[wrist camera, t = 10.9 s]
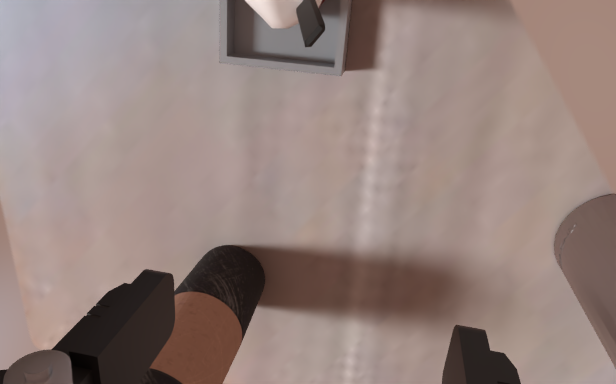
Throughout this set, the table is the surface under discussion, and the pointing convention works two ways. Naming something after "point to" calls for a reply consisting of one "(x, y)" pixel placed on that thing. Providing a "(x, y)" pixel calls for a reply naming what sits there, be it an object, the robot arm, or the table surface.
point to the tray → (284, 40)
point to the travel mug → (209, 318)
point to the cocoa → (292, 16)
